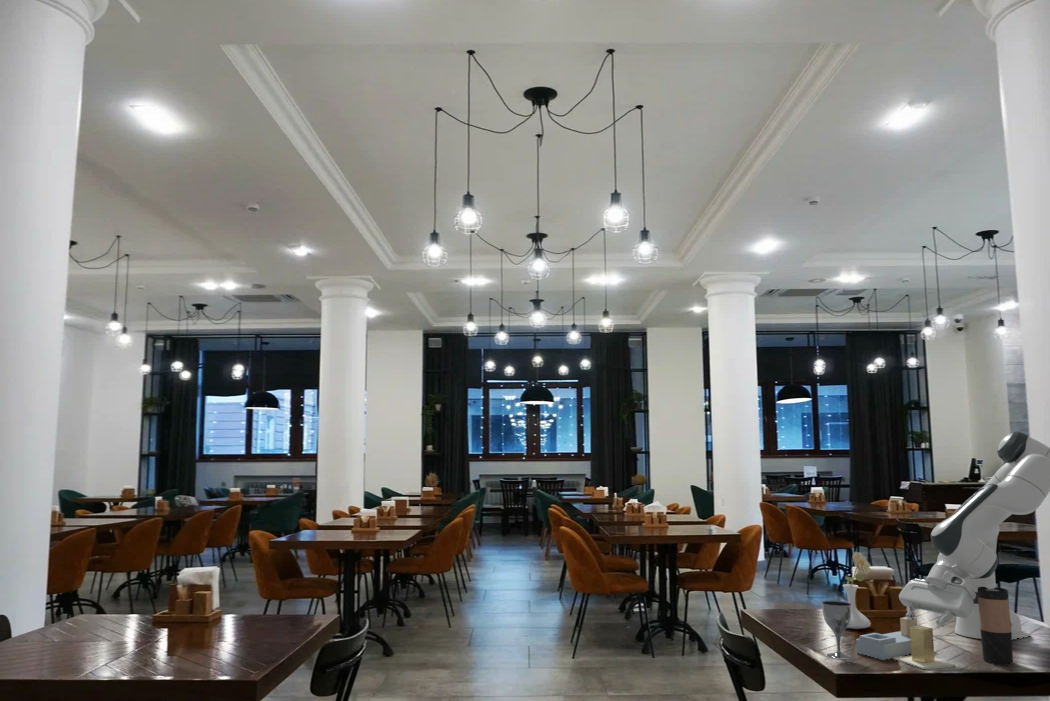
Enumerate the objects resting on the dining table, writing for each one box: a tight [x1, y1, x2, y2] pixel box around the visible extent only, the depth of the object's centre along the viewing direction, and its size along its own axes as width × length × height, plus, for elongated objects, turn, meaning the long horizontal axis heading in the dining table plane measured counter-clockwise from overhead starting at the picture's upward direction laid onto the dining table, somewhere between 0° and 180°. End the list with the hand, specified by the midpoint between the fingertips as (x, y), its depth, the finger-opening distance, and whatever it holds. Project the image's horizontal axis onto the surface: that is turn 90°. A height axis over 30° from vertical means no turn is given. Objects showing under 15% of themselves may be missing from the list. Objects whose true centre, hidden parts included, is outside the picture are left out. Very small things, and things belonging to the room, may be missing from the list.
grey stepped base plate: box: [855, 616, 918, 661], centre depth 232 cm, size 22×9×9 cm, turn 119°
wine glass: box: [821, 600, 852, 659], centre depth 227 cm, size 8×8×15 cm
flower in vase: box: [842, 551, 872, 630], centre depth 265 cm, size 13×11×25 cm
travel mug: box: [978, 586, 1014, 665], centre depth 221 cm, size 8×8×20 cm
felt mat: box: [892, 655, 956, 670], centre depth 219 cm, size 11×11×1 cm
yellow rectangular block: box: [910, 625, 936, 664], centre depth 220 cm, size 4×4×9 cm
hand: (923, 621), depth 223 cm, fingers open, 8 cm apart
